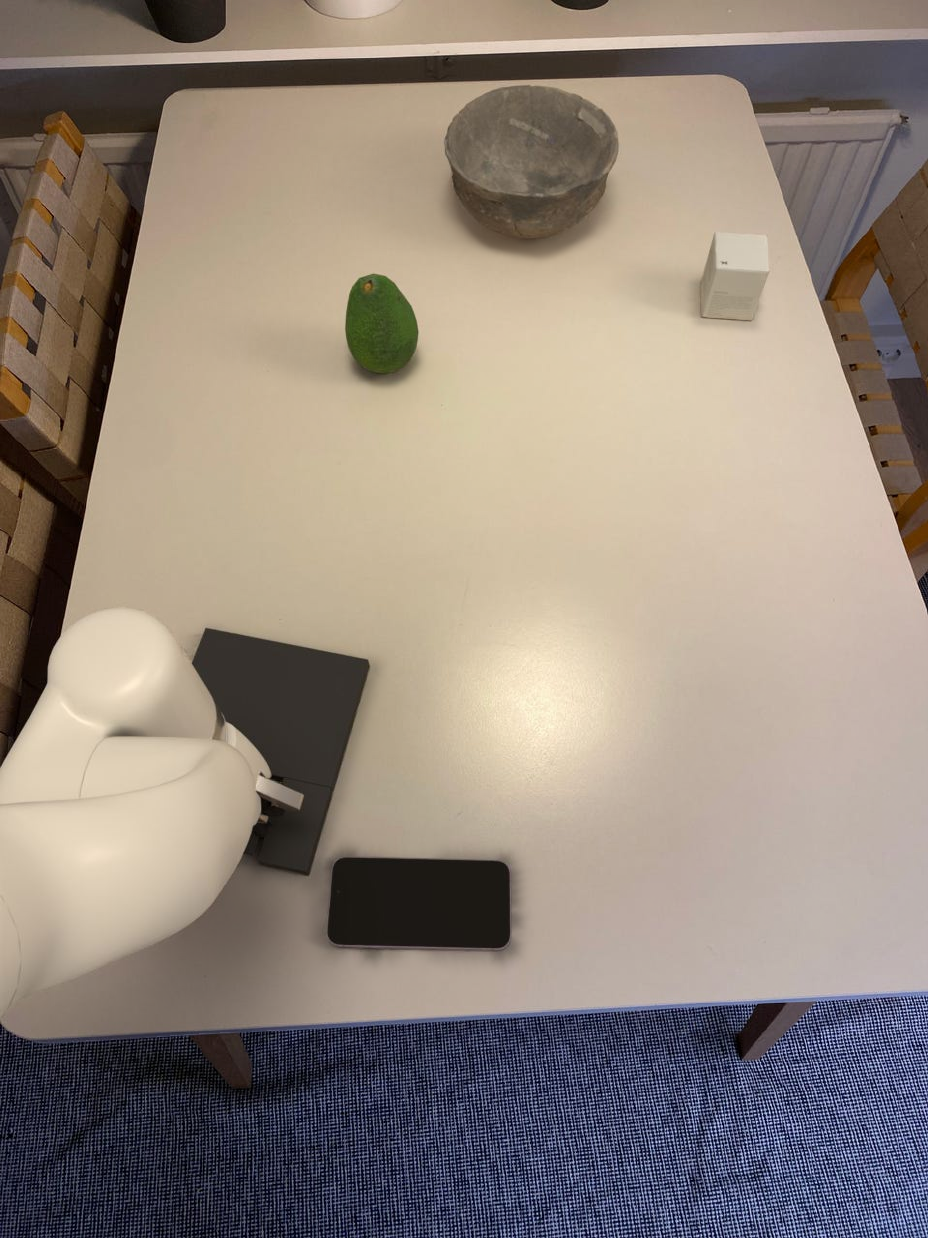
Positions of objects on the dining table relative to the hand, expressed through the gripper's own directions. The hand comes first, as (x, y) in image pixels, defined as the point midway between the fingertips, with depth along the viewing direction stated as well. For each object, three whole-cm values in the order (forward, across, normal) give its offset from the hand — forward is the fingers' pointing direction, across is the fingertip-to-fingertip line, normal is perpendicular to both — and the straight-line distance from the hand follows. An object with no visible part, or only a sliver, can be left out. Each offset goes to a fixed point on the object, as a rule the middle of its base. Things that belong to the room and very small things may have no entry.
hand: (227, 810), depth 78 cm
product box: (+2, +37, +72) cm, 81 cm away
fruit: (+2, 0, +54) cm, 54 cm away
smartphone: (+2, +18, -4) cm, 18 cm away
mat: (+2, 0, +6) cm, 7 cm away
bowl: (+2, +11, +82) cm, 83 cm away
